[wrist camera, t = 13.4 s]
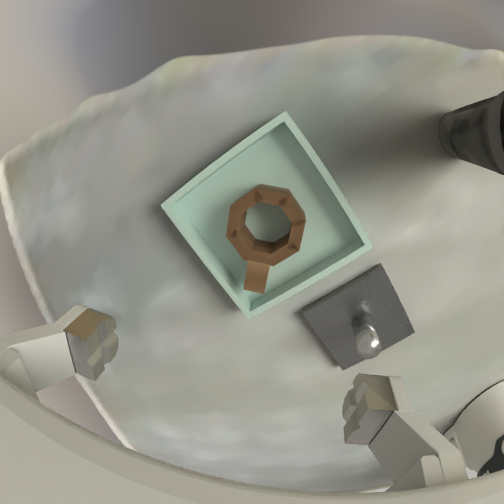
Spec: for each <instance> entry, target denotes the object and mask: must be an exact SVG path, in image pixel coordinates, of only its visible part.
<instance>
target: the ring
mask: <svg viewBox="0 0 504 504" xmlns="http://www.w3.org/2000/svg"><path fill="white" fill-rule="evenodd" d="M258 202H262V203H267V204H272V205H277V206H280V207H281V208H282V210H283V211H284V212H285V214H286V215H287V217H288V218H289V220H290V221H291V226H290V231H289V233H288V234H286V235H285V236H283V237H282V238H280V239H278V240H277V241H275V242H269V241H264V240H259V239H255V237H254V236H253V234H252V233H251V232H250V230H249V229H248V228H247V226H246V225H245V221H246V214H247V210H248V209H249V208H251V207H252V206H254V205H255V204H257V203H258ZM305 223H306V217H305V212H304V211H303V209H302V208H301V206H300V205H299V203H298V202H297V200H296V199H295V197H294V196H293V194H292V193H291V191H290V190H289V189H286V188H281V187H276V186H270V185H265V184H259V185H258V186H256V187H255V188H253V189H252V190H250V191H249V192H248V193H246V194H245V195H243V196H242V197H240V198H239V199H238V200H236V201H235V202H234V203H233V204H232V205H231V206H230V211H229V218H228V225H227V232H226V237H227V238H228V240H229V241H230V242H231V244H232V245H233V246H234V248H235V249H236V250H237V252H238V253H239V254H240V256H241V257H242V258H243V260H245V261H248V264H247V270H246V276H245V282H244V288H243V290H247V291H252V292H257V293H261V294H264V291H265V287H266V282H267V278H268V273H269V268H270V266H275V265H277V264H278V263H280V262H282V261H283V260H285V259H287V258H288V257H290V256H292V255H293V254H295V253H296V252H298V251H299V250H300V245H301V241H302V236H303V232H304V227H305Z"/></svg>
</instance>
